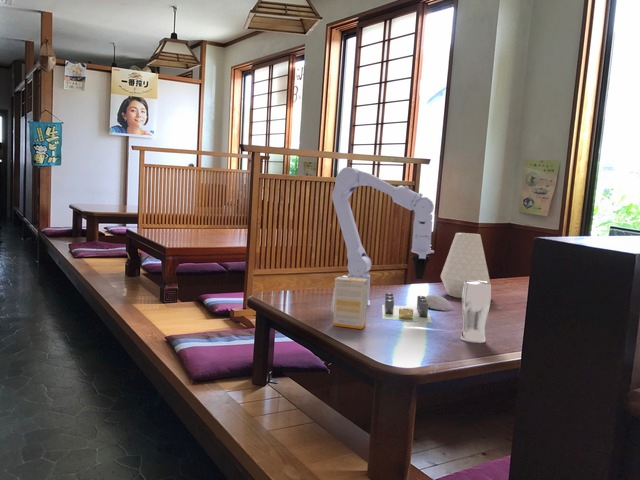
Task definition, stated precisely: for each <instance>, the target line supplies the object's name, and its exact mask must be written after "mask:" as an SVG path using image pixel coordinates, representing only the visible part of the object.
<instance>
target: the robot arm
mask: <svg viewBox="0 0 640 480" xmlns="http://www.w3.org/2000/svg"><path fill="white" fill-rule="evenodd" d="M360 186H363V187H364V186H368V187H369V186H370V187H371V188H373V189H376V190H378V191H380V192H383V193H384V194H386V195H388V196H390V197H391V198H392V202H394V203H395V204H398V205H399V206H401V207H403V208H405V209H407V210H409V211H413V212H414V220H413V225H412V226H413V229H412V240H411V241H412V243H411V249H410V252H411V253H414V254H417V255H412V256H411V255H410V258H411V260H412V263H413V268H414V278H415V279H416V280H423V279H424V276H425V272H426V269H427V265H428V263H429V262H430V260H431V258H430V256H429V255H428V254H435V250H433V249H432V250H431V246H432V245H431V244H432V232H433V231H432V230H433V221H432V220H433V214H432V213H433V212H434V207H435V206H434V203H433V201H432V200H431V199H430V198H429V197H427V196H425V197H424V195H423V193H421V192H420V193H418V192H416V191H413V190H411V189H410V186H409V185H404V186H403V185H398V186H394V185H392V184H391V183H388V182H387V181H385V180H383V179H381V178H379V177H377V176H376V175H374V174H371V173H369V172H365V171H363V170H359V169H357V168H353V167H349V166H347V167H344V168H342V169H340V170H339V172H338V173H337V176H336V177H335V184H334V187H333V191H332V195H331V198H332V203H333V206H334V210H335V214H336V216H337V217H336V218H337V219H338V223H339V227H340V230H341V232H342V237H343V240H344V243H345V246H346V250H347V251H346V259H347V267H346V268H347V270H348V273H347V275H342V277H353V278H364V279H368V287H367V306H370V305H371V300H370V287H371V286H370V285H371V284H370V283H371V274H369V271H370V270H371V268H372V265H373V264H372V260H371V258H370V257H369V256H368V255H367V253H366V250H365V248H364V246H363V244H362V240H361V238H360V235H359V231H358V230H359V229H358V227H357V224H356V220H355V218H354V214H353V211H352V207H351V203H350V201H349V199H350V197H351V196H352V194H353V192H354V191H355V190H356V189H357V188H358V187H360Z"/></svg>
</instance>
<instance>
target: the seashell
mask: <svg viewBox="0 0 640 480" xmlns="http://www.w3.org/2000/svg"><path fill="white" fill-rule="evenodd" d="M425 300H427V303H428V309H431V310H438V311H442V312H450V311H454V310H455V307H454V306H453V305H452V304H451V302H450V301H449V300H447V299H446V298H445V297H443V296H441V295H436V294H430V295H426V296H425Z"/></svg>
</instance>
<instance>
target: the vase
mask: <svg viewBox="0 0 640 480" xmlns="http://www.w3.org/2000/svg"><path fill="white" fill-rule="evenodd" d="M448 251H449V252H448V255H447V258H446V259H445V263H444V265H443V267H442V271H441V274H440V280H441V281H442V284H443V285H444V288H445V290H446V292H447V294H448V296H449V297H452V296H453V297H452V298H458V299H462V294H463V287H464V281H465V280H478V281H485V282H489V283H490V276H489V275H490V274H489V269H488V265H487V261H486V255H485V251H484V246H483V242H482V236H481V234H479V233H469V232H467V233H466V232H455V235H454V238H453V240H452V242H451V245H450V249H449V250H448Z"/></svg>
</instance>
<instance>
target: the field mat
mask: <svg viewBox="0 0 640 480" xmlns="http://www.w3.org/2000/svg"><path fill="white" fill-rule="evenodd" d="M400 308H409V309H413V319H411V320H404V319H400V318H399V309H400ZM381 311H382V312H381V313H382V315H381V317H382V319H383V320H393V321H407V322H417V323H418V322H419V323H433V320H432V318H431V315H430V313H429V312H428V317H427V318H422V317H419V313H418V309H417V306H405V305H394V309H393V314H385V304H382V307H381Z"/></svg>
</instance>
